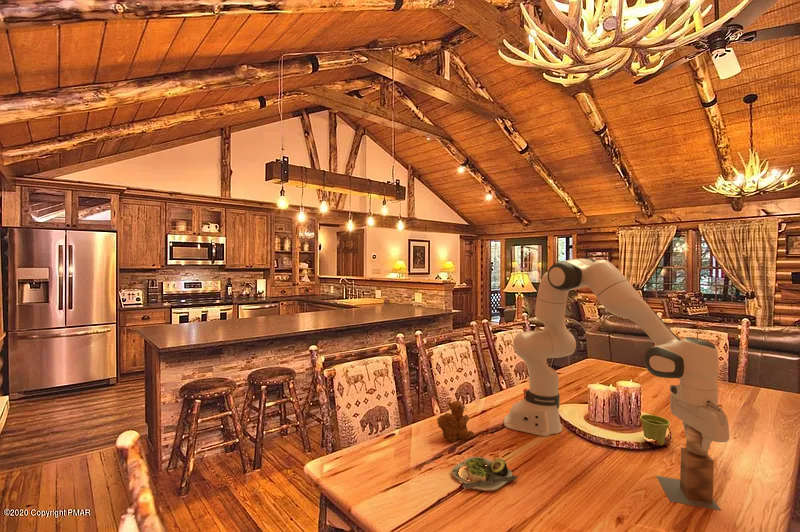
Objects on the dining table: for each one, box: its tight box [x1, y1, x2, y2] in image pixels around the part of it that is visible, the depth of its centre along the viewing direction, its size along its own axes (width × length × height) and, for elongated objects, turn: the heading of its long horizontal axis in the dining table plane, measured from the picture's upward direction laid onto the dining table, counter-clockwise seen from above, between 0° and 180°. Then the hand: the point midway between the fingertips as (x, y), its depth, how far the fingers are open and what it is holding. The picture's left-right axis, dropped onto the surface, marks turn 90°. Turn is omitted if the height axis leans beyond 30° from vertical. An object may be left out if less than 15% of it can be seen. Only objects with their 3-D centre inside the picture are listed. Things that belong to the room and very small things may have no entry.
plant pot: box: [639, 414, 671, 447], centre depth 148 cm, size 9×9×9 cm
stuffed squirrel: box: [436, 400, 475, 443], centre depth 151 cm, size 10×14×13 cm
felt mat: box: [655, 475, 722, 512], centre depth 116 cm, size 12×14×1 cm
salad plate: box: [451, 456, 519, 492], centre depth 123 cm, size 19×18×5 cm
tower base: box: [679, 467, 714, 503], centre depth 115 cm, size 6×6×6 cm
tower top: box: [680, 447, 715, 483], centre depth 115 cm, size 6×6×6 cm
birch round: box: [685, 427, 709, 455], centre depth 114 cm, size 5×5×6 cm
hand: (696, 443), depth 114 cm, fingers open, 5 cm apart
